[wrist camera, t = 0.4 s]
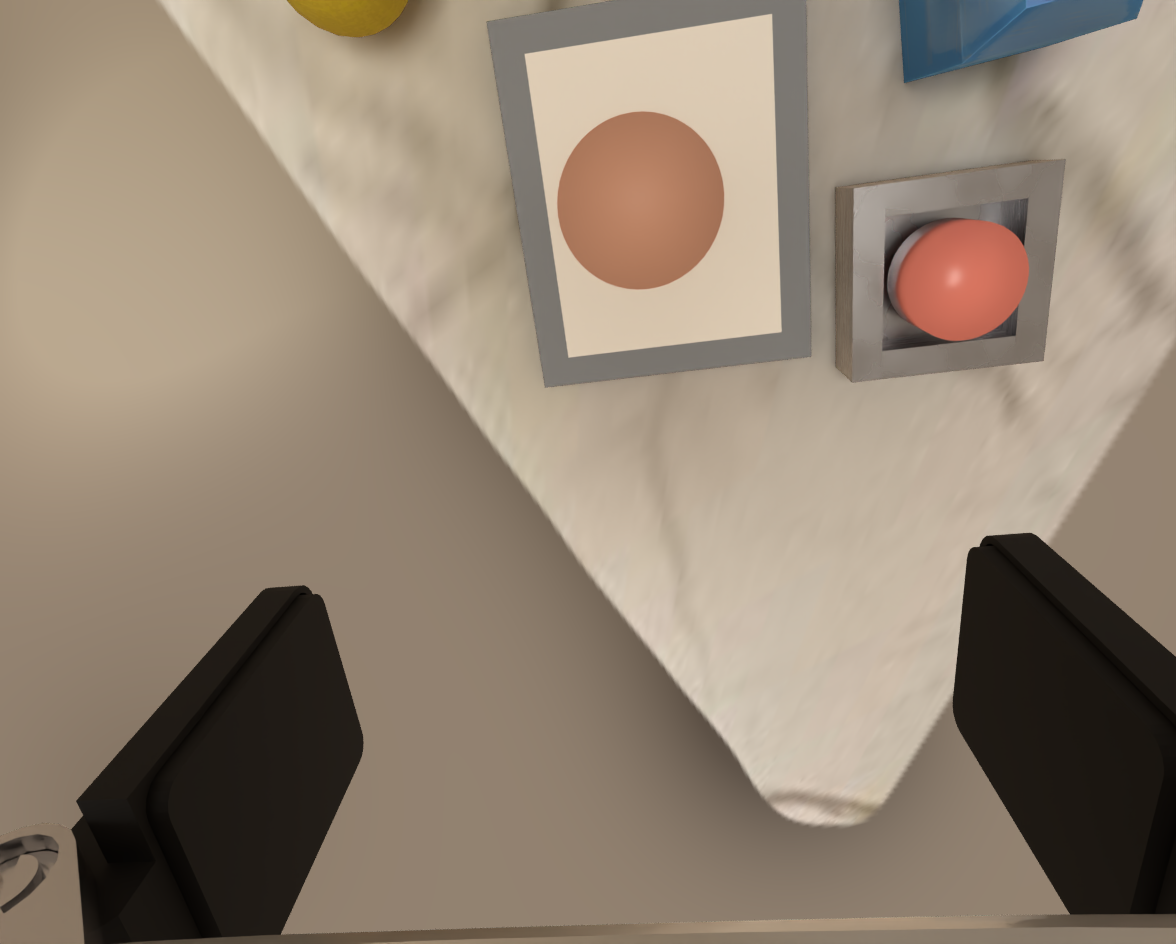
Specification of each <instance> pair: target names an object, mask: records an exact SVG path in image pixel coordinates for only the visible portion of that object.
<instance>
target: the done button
mask: <svg viewBox="0 0 1176 944" xmlns="http://www.w3.org/2000/svg"><path fill="white" fill-rule="evenodd" d="M1028 277H1029V263H1028V257H1027V253H1026V251H1025V248H1024V246H1023V244H1022V243H1021V241H1020V240H1019V238H1018V237H1017V236H1016V235H1015V234H1014V233H1013V232H1012V231H1010V230H1009V229H1007V228H1006V227H1004V226H1002V225H999V224H997V223H993V222H989V221H982V220H973V219H965V218H944V219H939V220H936V221H933V222H930V223H928V224H926V225H924V226H922V227H921V228H919V229H917V230H916V231H915V232H913V233H912V234H911V235H910V236H909V237H908V238H907V239H906V240H905V241H904V242H903V243H902V245H901V246H900V247H899V249H898V250H897V252H896V253H895V256H894V258H893V260H892V262H891V265H890V268H889V272H888V280H887V287H888V294H889V298H890V301H891V303H892V305H893V307H894V309H895V310H896V312H897V313H898V314H899V315H900V316H901V317H902V318H903V319H904V320H905V321H907V322H908V323H910V324H912V325H914V326H916V327H918V328H919V329H921V330H923V331H925V332H927V333H929V334H931V335H933V336H935V337H938V338H941V339H945V340H952V341H962V340H969V339H973V338H976V337H979V336H982V335H984V334H986V333H988V332H990V331H992V330H994V329H995V328H996V327H998V326H999V325H1001V324H1002V323H1003V322H1004V321H1005V320H1006V319H1007V318H1008V317H1009V316H1010V315H1011V314H1012V313H1013V311H1014V310H1015V309H1016V307H1017V306H1018V304H1019V303H1020V301H1021V299H1022V297H1023V295H1024V292H1025V290H1026V286H1027V283H1028Z"/></svg>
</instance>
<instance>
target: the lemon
mask: <svg viewBox="0 0 1176 944" xmlns="http://www.w3.org/2000/svg"><path fill="white" fill-rule="evenodd" d="M287 1H288V2H289V3H290V4H291V6H292V7H293V8H294V9H295V10H296V11H297V12H298V13H299V14H300V15H302V16H303V17H304V18H306V19H307V20H308V21H310V22H311V23H313V24H314V25H315V26H317V27H319V28H321V29H324V30H326V31H329V32H331V33H334V34H336V35H340V36H349V37H363V36H368V35H373V34H376V33H378V32H380V31H382V30H383V29H385V28H387V27H389V26H390V25H391V24H392V23H393V22H394V21H395V20H396V19H397V18H398V17H399V16H400V14H401V13H402V11H403V9H404V7H405V6H406V4H407V2H408V0H287Z"/></svg>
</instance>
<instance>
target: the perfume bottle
mask: <svg viewBox="0 0 1176 944" xmlns="http://www.w3.org/2000/svg"><path fill="white" fill-rule="evenodd" d="M1142 2H1143V0H899V9H900V25H901V41H902V57H903V73H904V83H906V82H910V81H914V80H918V79H922V78H926V77H930V76H934V75H937V74H941V73H945V72H949V71H953V70H957V69H961V68H965V67H968V66H972V65H976V64H980V63H984V62H988V61H992V60H996V59H999V58H1003V57H1007V56H1011V55H1015V54H1019V53H1023V52H1026V51H1030V50H1034V49H1038V48H1042V47H1046V46H1049V45H1052V44H1056V43H1059V42H1062V41H1065V40H1068V39H1072V38H1075V37H1078V36H1081V35H1085V34H1088V33H1091V32H1094V31H1098V30H1101V29H1104V28H1107V27H1110V26H1114V25H1117V24H1120V23H1123V22H1127V21H1130V20H1133V19H1136V18H1137V16H1138V14H1139V11H1140V8H1141V5H1142Z"/></svg>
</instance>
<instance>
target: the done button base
mask: <svg viewBox="0 0 1176 944" xmlns="http://www.w3.org/2000/svg"><path fill="white" fill-rule="evenodd" d="M1065 161H1066V159H1058V160H1032V161H1023V162H1016V163H1009V164H1001V165H994V166H987V167H980V168H972V169H965V170H958V171H951V172H943V173H936V174H929V175H922V176H914V177H907V178H900V179H892V180H885V181H878V182H871V183H863V184H856V185H849V186H842V187H836V368H837V369H838V370H839V371H840V372H841V373H843V374H844V375H845V376H846V377H847V378H848V379H849V380H850V381H851V382H860V381H869V380H878V379H887V378H896V377H905V376H914V375H923V374H932V373H941V372H950V371H959V370H967V369H976V368H985V367H994V366H1003V365H1012V364H1021V363H1030V362H1039V361H1044V352H1045V343H1046V334H1047V325H1048V316H1049V307H1050V297H1051V288H1052V279H1053V270H1054V261H1055V252H1056V243H1057V234H1058V225H1059V216H1060V207H1061V198H1062V189H1063V180H1064V170H1065ZM944 218H965V219H973V220H982V221H989V222H993V223H997V224H999V225H1002V226H1004V227H1006V228H1007V229H1009V230H1010V231H1012V232H1013V233H1014V234H1015V235H1016V236H1017V237H1018V238H1019V240H1020V241H1021V243H1022V244H1023V246H1024V248H1025V251H1026V253H1027V257H1028V263H1029V277H1028V283H1027V286H1026V290H1025V292H1024V295H1023V297H1022V299H1021V301H1020V303H1019V304H1018V306H1017V307H1016V309H1015V310H1014V311H1013V313H1012V314H1011V315H1010V316H1009V317H1008V318H1007V319H1006V320H1005V321H1004V322H1003V323H1002V324H1001V325H999V326H998V327H996V328H995V329H994V330H992V331H990V332H988V333H986V334H984V335H982V336H979V337H976V338H973V339H969V340H962V341H952V340H945V339H941V338H938V337H935V336H933V335H931V334H929V333H927V332H925V331H923V330H921V329H919V328H918V327H916V326H914V325H912V324H910V323H908V322H907V321H905V320H904V319H903V318H902V317H901V316H900V315H899V314H898V313H897V312H896V310H895V309H894V307H893V305H892V303H891V301H890V298H889V294H888V287H887V280H888V272H889V268H890V265H891V262H892V260H893V258H894V256H895V253H896V252H897V250H898V249H899V247H900V246H901V245H902V243H903V242H904V241H905V240H906V239H907V238H908V237H909V236H910V235H911V234H912V233H913V232H915V231H916V230H917V229H919V228H921V227H922V226H924V225H926V224H928V223H930V222H933V221H936V220H939V219H944Z"/></svg>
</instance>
